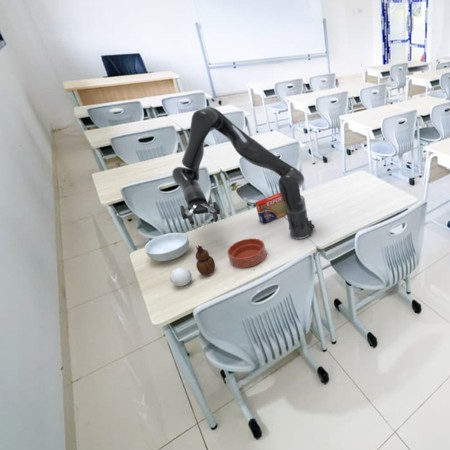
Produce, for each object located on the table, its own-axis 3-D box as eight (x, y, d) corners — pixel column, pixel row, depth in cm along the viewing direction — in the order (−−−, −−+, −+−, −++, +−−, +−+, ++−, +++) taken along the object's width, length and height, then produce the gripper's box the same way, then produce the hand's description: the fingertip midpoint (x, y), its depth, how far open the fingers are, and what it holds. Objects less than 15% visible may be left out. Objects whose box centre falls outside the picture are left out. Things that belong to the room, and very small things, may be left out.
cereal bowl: (182, 266, 152) (176, 253, 149) (142, 267, 152) (136, 254, 148) (198, 243, 167) (193, 231, 163) (162, 245, 166) (156, 232, 162)
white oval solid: (189, 275, 147) (183, 261, 143) (197, 283, 143) (191, 269, 139) (163, 287, 141) (156, 273, 137) (171, 296, 137) (164, 281, 133)
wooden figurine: (209, 278, 146) (198, 249, 138) (197, 276, 147) (185, 247, 139) (219, 268, 151) (209, 239, 143) (208, 266, 152) (197, 238, 144)
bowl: (266, 245, 166) (263, 235, 163) (267, 264, 154) (264, 254, 151) (231, 251, 161) (228, 242, 158) (229, 272, 149) (226, 261, 146)
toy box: (263, 224, 182) (259, 204, 176) (259, 221, 184) (255, 202, 178) (293, 211, 193) (290, 192, 187) (289, 209, 195) (286, 190, 189)
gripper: (175, 192, 148) (184, 217, 139) (212, 188, 156) (223, 212, 148) (176, 206, 152) (185, 231, 144) (212, 201, 161) (223, 225, 153)
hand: (204, 221), depth 146 cm, fingers open, 8 cm apart
